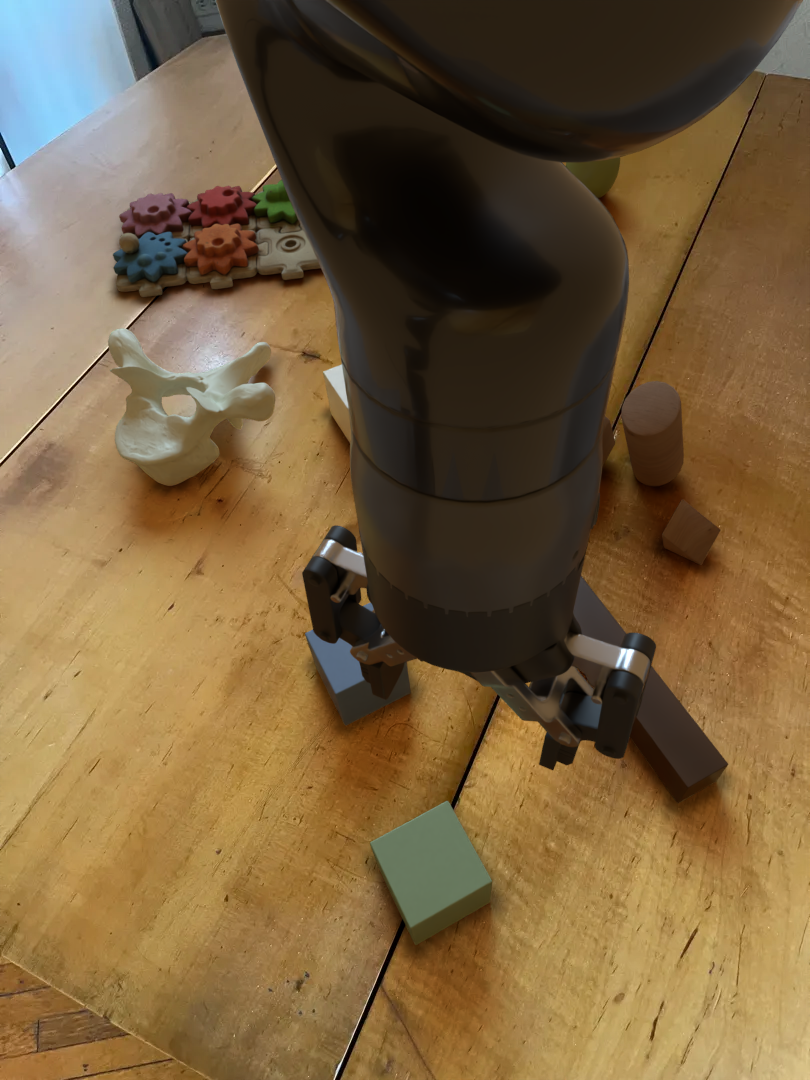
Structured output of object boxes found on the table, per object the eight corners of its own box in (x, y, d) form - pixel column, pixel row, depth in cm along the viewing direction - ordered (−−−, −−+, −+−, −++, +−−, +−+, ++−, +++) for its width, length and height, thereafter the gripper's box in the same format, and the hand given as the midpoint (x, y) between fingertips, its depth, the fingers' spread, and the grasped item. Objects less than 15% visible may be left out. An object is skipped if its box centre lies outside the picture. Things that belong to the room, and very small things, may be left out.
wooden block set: (499, 476, 69) (468, 427, 60) (550, 390, 70) (526, 328, 61) (701, 571, 62) (701, 532, 52) (755, 473, 62) (764, 418, 53)
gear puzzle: (401, 179, 92) (398, 144, 89) (417, 266, 83) (415, 231, 80) (127, 212, 92) (114, 178, 89) (112, 303, 83) (97, 269, 79)
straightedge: (677, 804, 50) (688, 787, 48) (399, 417, 71) (397, 392, 68) (716, 781, 51) (729, 764, 49) (429, 405, 72) (428, 379, 69)
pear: (624, 196, 88) (640, 102, 79) (588, 216, 86) (600, 122, 78) (587, 175, 90) (598, 82, 82) (551, 194, 89) (559, 100, 81)
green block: (415, 945, 47) (410, 929, 43) (377, 865, 49) (368, 842, 45) (491, 902, 48) (493, 881, 44) (449, 825, 50) (447, 799, 46)
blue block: (345, 726, 55) (335, 694, 51) (315, 667, 57) (304, 632, 53) (411, 693, 56) (406, 659, 52) (379, 636, 58) (372, 600, 54)
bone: (274, 360, 77) (254, 285, 70) (294, 470, 68) (273, 396, 61) (132, 389, 76) (99, 316, 69) (133, 505, 67) (95, 434, 60)
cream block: (354, 451, 69) (347, 408, 65) (330, 414, 72) (322, 371, 68) (407, 428, 70) (403, 386, 66) (381, 393, 73) (376, 350, 69)
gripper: (224, 523, 26) (302, 725, 39) (662, 686, 22) (587, 851, 35) (334, 374, 30) (372, 603, 43) (725, 489, 26) (636, 704, 39)
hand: (469, 715), depth 39 cm, fingers open, 8 cm apart
